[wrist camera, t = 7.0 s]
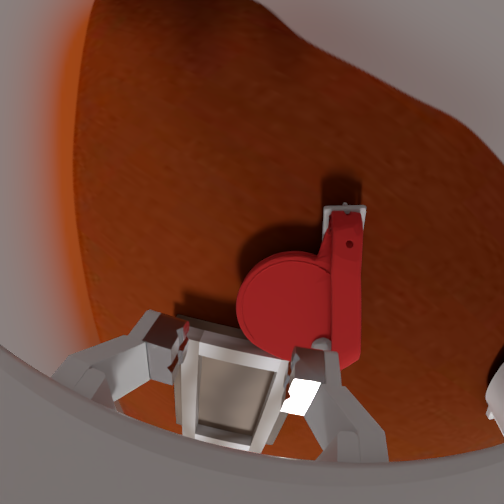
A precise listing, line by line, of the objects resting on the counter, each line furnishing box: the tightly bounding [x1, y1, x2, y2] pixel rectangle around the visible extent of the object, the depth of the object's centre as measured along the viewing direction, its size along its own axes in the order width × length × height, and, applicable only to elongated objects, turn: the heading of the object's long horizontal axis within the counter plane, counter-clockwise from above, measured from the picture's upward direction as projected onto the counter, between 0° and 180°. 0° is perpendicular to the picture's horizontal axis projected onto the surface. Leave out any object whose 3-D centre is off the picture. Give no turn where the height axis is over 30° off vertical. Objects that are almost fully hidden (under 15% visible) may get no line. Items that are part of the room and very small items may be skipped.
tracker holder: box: [236, 202, 366, 371], centre depth 19 cm, size 12×4×10 cm
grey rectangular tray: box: [174, 314, 290, 453], centre depth 26 cm, size 12×17×3 cm
